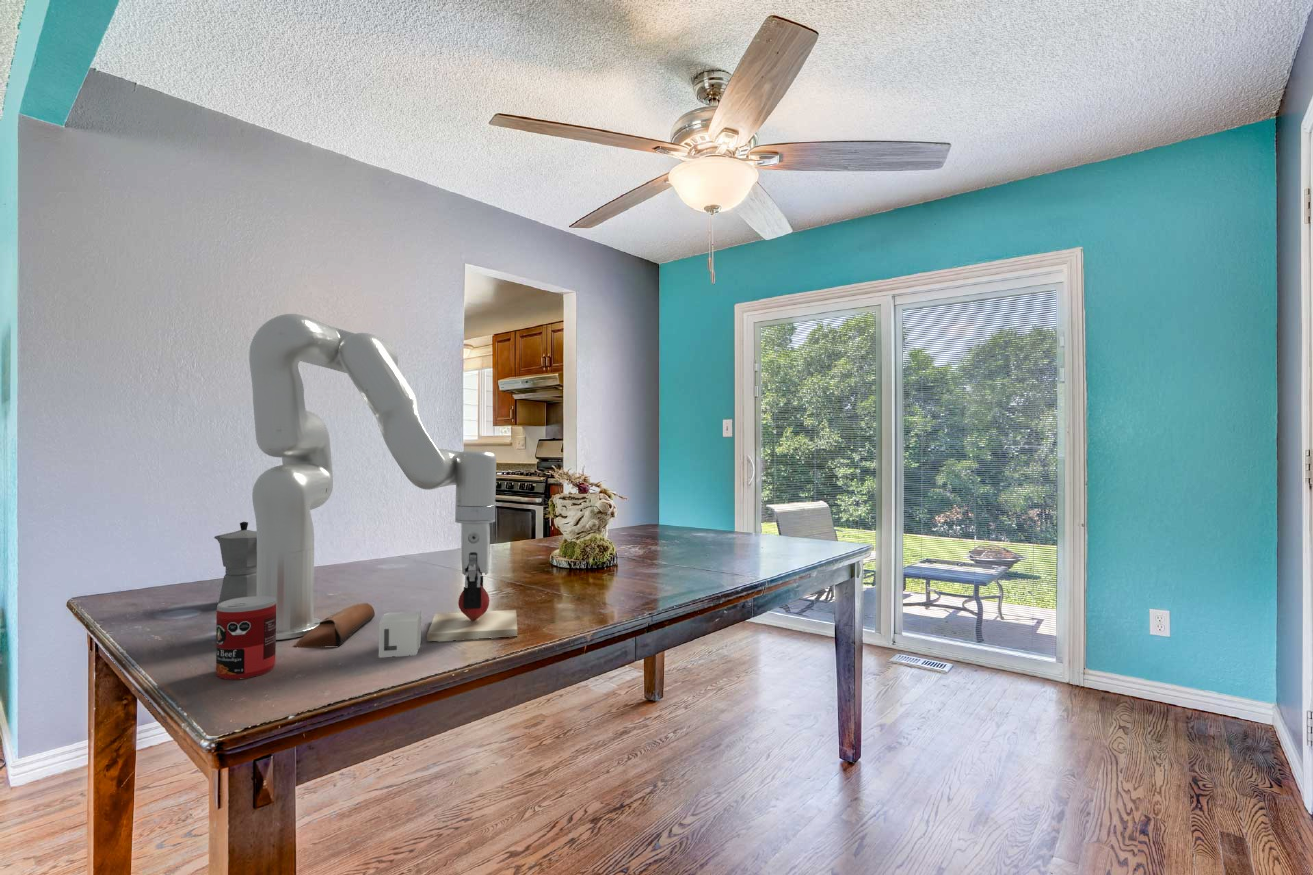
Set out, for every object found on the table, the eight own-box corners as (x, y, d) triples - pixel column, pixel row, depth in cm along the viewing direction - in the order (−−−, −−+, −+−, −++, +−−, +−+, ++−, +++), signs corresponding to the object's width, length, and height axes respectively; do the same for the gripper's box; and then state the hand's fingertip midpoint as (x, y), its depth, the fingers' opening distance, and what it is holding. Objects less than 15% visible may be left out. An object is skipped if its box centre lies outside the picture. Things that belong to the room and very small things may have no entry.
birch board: (427, 642, 119) (427, 633, 119) (435, 621, 132) (435, 613, 132) (517, 637, 122) (517, 629, 122) (516, 617, 136) (516, 609, 136)
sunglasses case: (331, 619, 132) (349, 590, 133) (362, 636, 133) (380, 608, 133) (291, 647, 115) (311, 614, 115) (326, 667, 115) (347, 634, 116)
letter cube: (378, 658, 110) (379, 622, 110) (384, 646, 116) (385, 613, 116) (416, 655, 112) (416, 620, 112) (420, 644, 118) (420, 611, 118)
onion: (494, 617, 130) (494, 577, 130) (480, 624, 124) (480, 582, 124) (467, 616, 131) (467, 576, 131) (452, 623, 125) (452, 581, 125)
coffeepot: (198, 607, 141) (199, 524, 141) (229, 597, 150) (230, 518, 150) (267, 609, 140) (268, 525, 140) (294, 598, 150) (295, 519, 150)
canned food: (206, 673, 102) (207, 603, 102) (261, 659, 109) (261, 593, 109) (229, 684, 98) (230, 610, 98) (284, 669, 104) (285, 600, 104)
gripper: (494, 519, 120) (492, 613, 120) (495, 509, 137) (494, 591, 137) (451, 519, 118) (449, 614, 118) (458, 509, 135) (456, 592, 135)
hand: (473, 602), depth 127 cm, fingers open, 9 cm apart
